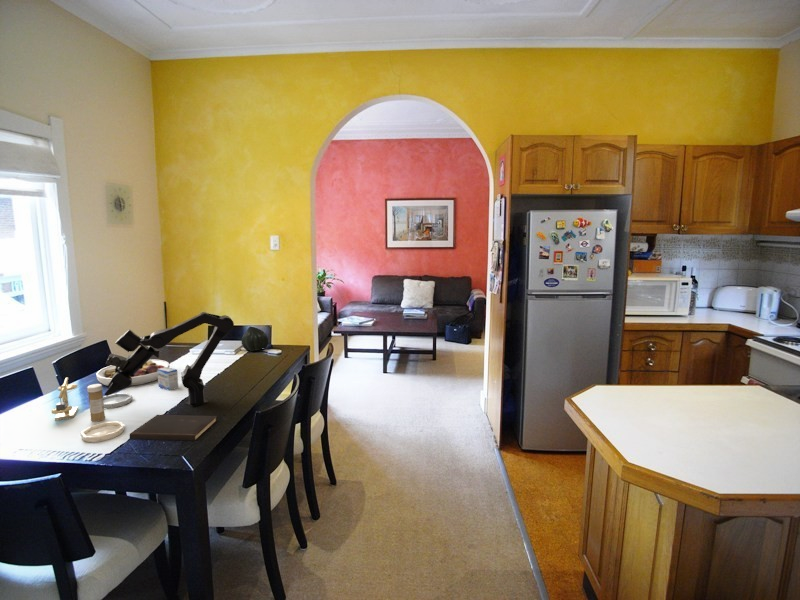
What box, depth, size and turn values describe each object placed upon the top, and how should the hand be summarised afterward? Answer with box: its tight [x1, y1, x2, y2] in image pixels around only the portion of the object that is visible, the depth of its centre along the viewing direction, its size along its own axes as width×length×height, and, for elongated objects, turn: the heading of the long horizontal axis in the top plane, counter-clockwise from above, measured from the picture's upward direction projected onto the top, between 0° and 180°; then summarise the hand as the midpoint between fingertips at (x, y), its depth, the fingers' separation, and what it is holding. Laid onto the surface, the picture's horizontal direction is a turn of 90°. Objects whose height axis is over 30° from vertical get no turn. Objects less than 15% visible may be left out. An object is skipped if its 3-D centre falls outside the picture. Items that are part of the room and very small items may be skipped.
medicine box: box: [157, 367, 179, 391], centre depth 196 cm, size 8×4×9 cm, turn 62°
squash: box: [241, 326, 269, 352], centre depth 258 cm, size 14×15×15 cm
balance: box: [51, 377, 79, 422], centre depth 166 cm, size 19×6×13 cm, turn 27°
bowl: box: [95, 358, 170, 387], centre depth 209 cm, size 30×30×8 cm
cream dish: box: [80, 421, 125, 443], centre depth 151 cm, size 12×12×2 cm
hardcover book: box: [129, 414, 218, 442], centre depth 155 cm, size 16×23×2 cm
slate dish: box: [103, 392, 134, 409], centre depth 178 cm, size 12×12×2 cm
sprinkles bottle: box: [86, 383, 106, 422], centre depth 161 cm, size 5×5×13 cm
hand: (107, 391), depth 163 cm, fingers open, 9 cm apart
